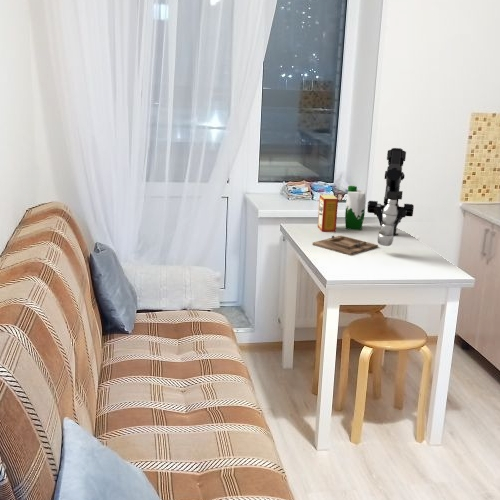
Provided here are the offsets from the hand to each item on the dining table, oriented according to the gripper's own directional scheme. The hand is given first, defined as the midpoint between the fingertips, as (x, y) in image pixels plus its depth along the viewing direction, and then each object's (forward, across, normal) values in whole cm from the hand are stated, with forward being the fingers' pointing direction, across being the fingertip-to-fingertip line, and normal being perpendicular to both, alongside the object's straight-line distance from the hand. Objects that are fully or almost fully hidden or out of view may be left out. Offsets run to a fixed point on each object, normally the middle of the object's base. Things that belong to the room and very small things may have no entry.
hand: (388, 225), depth 271 cm
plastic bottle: (+5, -1, +7) cm, 9 cm away
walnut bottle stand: (+4, -18, +14) cm, 23 cm away
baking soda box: (-15, -29, +33) cm, 46 cm away
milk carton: (-20, -17, +38) cm, 47 cm away
